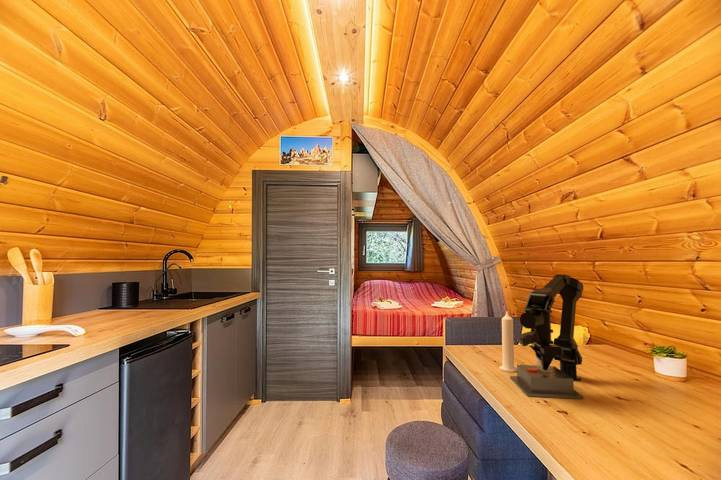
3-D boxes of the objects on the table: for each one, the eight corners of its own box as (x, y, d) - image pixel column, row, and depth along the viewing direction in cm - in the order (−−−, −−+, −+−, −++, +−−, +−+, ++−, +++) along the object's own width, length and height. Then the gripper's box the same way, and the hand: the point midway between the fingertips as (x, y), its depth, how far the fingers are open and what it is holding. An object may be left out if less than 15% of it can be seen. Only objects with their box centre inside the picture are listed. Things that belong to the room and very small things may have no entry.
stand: (510, 378, 133) (509, 361, 133) (558, 380, 131) (557, 363, 131) (527, 396, 115) (527, 376, 115) (583, 399, 113) (582, 379, 113)
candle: (514, 367, 147) (512, 309, 149) (520, 372, 140) (518, 312, 142) (497, 366, 148) (496, 309, 149) (502, 371, 141) (501, 311, 142)
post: (537, 382, 125) (536, 357, 125) (546, 382, 124) (545, 357, 125) (540, 385, 121) (540, 360, 122) (550, 385, 121) (549, 360, 122)
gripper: (510, 320, 134) (511, 360, 133) (529, 330, 116) (530, 376, 115) (540, 321, 133) (541, 361, 132) (563, 331, 115) (564, 377, 114)
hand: (543, 368), depth 123 cm, fingers closed on post, 3 cm apart
